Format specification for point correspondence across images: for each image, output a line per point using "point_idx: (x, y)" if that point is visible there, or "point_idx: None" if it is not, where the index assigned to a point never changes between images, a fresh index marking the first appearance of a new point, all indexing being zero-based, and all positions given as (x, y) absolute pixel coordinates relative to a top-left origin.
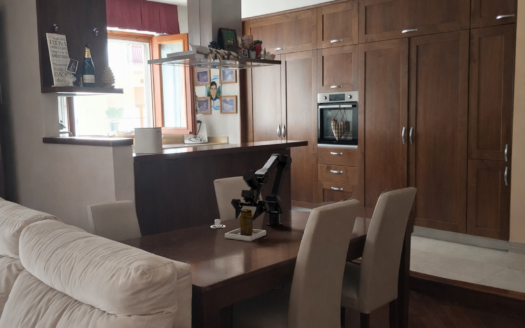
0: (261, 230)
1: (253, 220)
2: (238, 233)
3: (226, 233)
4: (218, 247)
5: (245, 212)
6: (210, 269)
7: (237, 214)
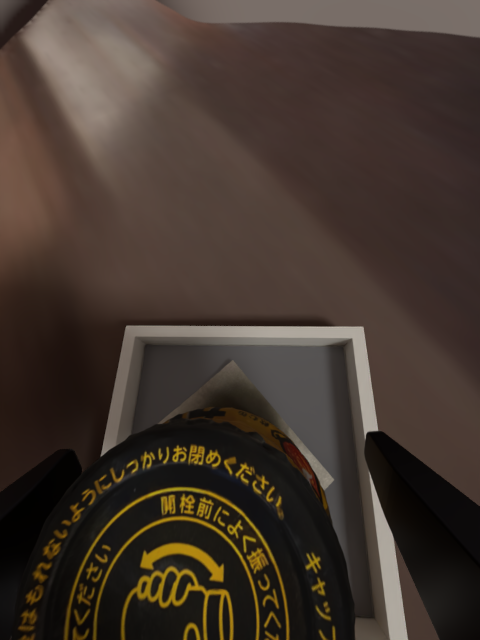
0: None
1: (74, 468)
2: (319, 468)
3: (349, 332)
4: (242, 168)
5: (145, 434)
6: (121, 16)
7: (410, 510)
